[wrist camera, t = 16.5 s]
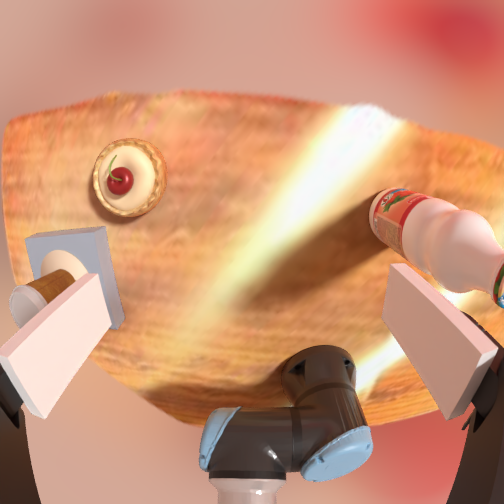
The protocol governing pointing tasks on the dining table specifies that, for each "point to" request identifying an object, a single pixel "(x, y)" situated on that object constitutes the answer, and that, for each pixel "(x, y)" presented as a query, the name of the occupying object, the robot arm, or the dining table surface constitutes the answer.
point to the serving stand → (78, 261)
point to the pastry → (129, 177)
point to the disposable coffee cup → (37, 295)
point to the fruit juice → (440, 241)
